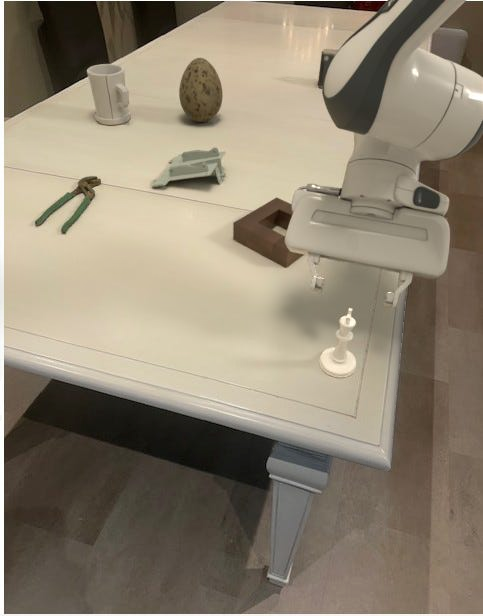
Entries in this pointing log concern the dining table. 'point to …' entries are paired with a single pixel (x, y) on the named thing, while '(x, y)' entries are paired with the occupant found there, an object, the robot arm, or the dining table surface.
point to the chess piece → (340, 351)
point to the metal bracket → (193, 166)
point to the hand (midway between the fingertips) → (352, 299)
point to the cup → (109, 93)
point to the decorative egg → (200, 91)
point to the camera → (325, 64)
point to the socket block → (267, 231)
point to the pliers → (82, 187)
